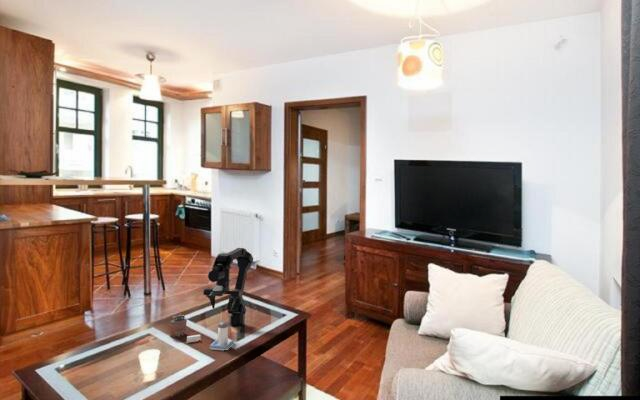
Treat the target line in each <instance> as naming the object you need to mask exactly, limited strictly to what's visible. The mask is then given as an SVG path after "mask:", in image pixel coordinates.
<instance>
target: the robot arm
mask: <svg viewBox="0 0 640 400" xmlns="http://www.w3.org/2000/svg"><path fill="white" fill-rule="evenodd" d="M235 260H236V261H237V263H236V265H237V267H238V272H237V276H236V281H235V286H234V289H233V290H230V289H231V288H230V282H231V279H230V274H231V273H230V271H231V269H232V266H231V265H232V264H233V263H234V261H235ZM253 262H254V257H253V255H252V253H250V252H249V251H247V249H246V248H245V247H237V248H236V249H233V250H231V251H229V252H222V253H221V252H220V253H218V254H217V256H216V257H215V259H214V262H213V265H212V269H211V270H210V271H209V272H208V274H207V275H208V276H207V278H208V280H209V281H210V282H211V283H216V284H215V286H214V287H211V286H210V287H206V288H204V290H203V292H202V293H203V296H205V297H207V298H208V299H209V301H210V304H211V307H212V309H213V310H214V309H215V305H216V297H222V296H223V295H230V296H229V298H228V302H227V305H226V308H227V314H229V320H228V321H229V322H228V325H230V326H231V327H240V326H244V325H245V323H244V315H246V313H247V308H246V306H245V299H244V297H243V294H244V289H245V285H246V279H247V275H248V274H247V273H248V271H249V269H251V267H252V264H253Z"/></svg>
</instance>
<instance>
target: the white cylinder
mask: <svg viewBox="0 0 640 400" xmlns="http://www.w3.org/2000/svg"><path fill="white" fill-rule="evenodd" d="M217 325H218V326H217V338H218V345H221V346H227V344H228V342H229V341H228V340H229V339H228V337H229V336H228V335H229V334H228V333H229V322H227V321H221V322H218V323H217Z"/></svg>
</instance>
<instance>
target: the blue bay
mask: <svg viewBox="0 0 640 400" xmlns="http://www.w3.org/2000/svg"><path fill="white" fill-rule="evenodd" d="M234 342H235V339H231V341H228V344H227V346H221V345H218V337H217V338H216V339H215V340H214V341H213V342H212V343H210V345H209V350H213V351H214V350H215V351H224V350H228V349H229V348H230V347H231V348H232V346H233V345H234V344H235V343H234ZM233 343H234V344H233ZM231 348H230V349H231ZM230 349H229V350H230ZM229 350H228V351H229Z"/></svg>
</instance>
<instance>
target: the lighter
mask: <svg viewBox="0 0 640 400" xmlns="http://www.w3.org/2000/svg"><path fill="white" fill-rule="evenodd" d="M185 317H186V315H185V314H178V315H173V316H172V317H171V319H172V320H170V332H169V333H170V334H169V338H176V337H175V336H178V337H180V336H179V335H182V334H185V333H186V334H187V322H188V318H185ZM186 334H185V335H186ZM182 336H183V335H182Z"/></svg>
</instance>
